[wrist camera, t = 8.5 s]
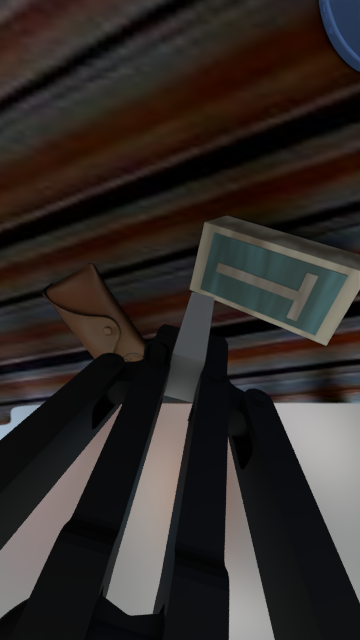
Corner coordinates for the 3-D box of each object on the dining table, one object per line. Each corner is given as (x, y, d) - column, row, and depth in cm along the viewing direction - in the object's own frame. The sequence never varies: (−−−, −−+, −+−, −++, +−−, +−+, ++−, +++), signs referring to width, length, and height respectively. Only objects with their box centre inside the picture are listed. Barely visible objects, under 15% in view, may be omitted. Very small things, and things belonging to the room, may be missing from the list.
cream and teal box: (188, 290, 29) (325, 347, 24) (203, 222, 25) (369, 275, 21) (211, 274, 34) (329, 319, 29) (227, 215, 30) (365, 256, 26)
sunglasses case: (163, 359, 42) (134, 392, 39) (140, 357, 48) (112, 386, 44) (90, 258, 36) (46, 286, 32) (72, 268, 41) (34, 294, 38)
